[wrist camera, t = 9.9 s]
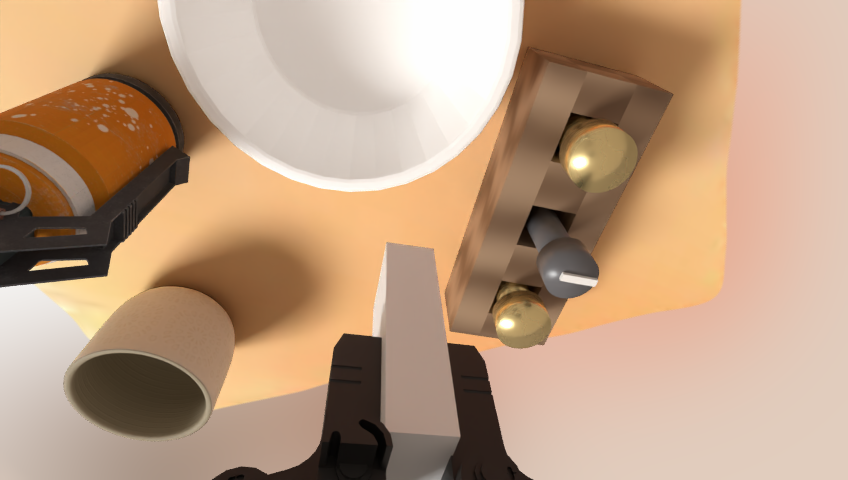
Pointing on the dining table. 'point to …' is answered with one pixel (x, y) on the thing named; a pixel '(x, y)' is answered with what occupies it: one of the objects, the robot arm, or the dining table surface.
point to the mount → (542, 180)
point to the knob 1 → (520, 316)
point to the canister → (83, 175)
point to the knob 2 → (596, 153)
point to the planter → (154, 366)
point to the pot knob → (560, 256)
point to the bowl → (346, 80)
